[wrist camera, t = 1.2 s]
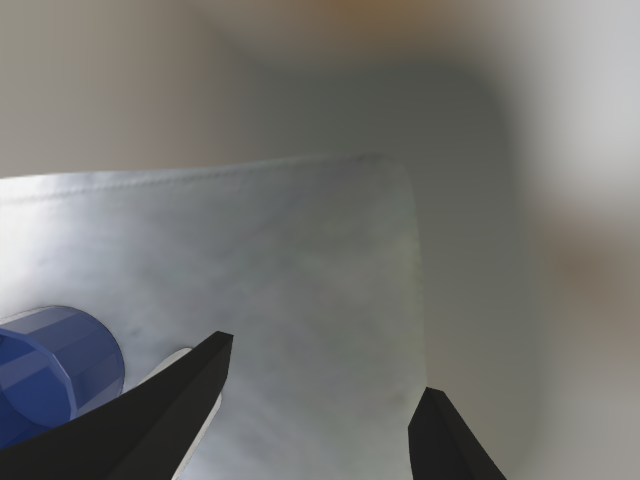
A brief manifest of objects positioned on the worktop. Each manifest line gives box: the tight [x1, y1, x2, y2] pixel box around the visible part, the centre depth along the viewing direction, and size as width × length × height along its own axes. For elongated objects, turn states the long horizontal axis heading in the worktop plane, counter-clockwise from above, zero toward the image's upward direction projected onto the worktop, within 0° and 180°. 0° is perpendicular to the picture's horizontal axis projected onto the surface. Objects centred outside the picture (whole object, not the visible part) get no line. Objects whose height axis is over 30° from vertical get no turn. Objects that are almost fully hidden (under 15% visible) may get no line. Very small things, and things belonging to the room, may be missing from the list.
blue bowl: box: [0, 306, 124, 450], centre depth 23 cm, size 10×10×5 cm
